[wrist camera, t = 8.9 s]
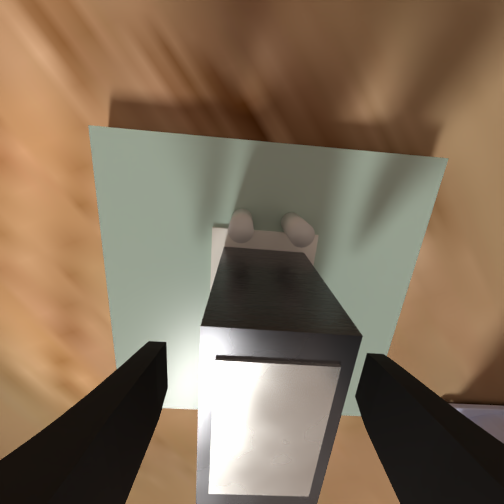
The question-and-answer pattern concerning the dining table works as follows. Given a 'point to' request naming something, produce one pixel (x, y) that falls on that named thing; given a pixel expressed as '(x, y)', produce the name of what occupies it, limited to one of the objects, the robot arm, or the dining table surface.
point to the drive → (270, 379)
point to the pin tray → (251, 232)
